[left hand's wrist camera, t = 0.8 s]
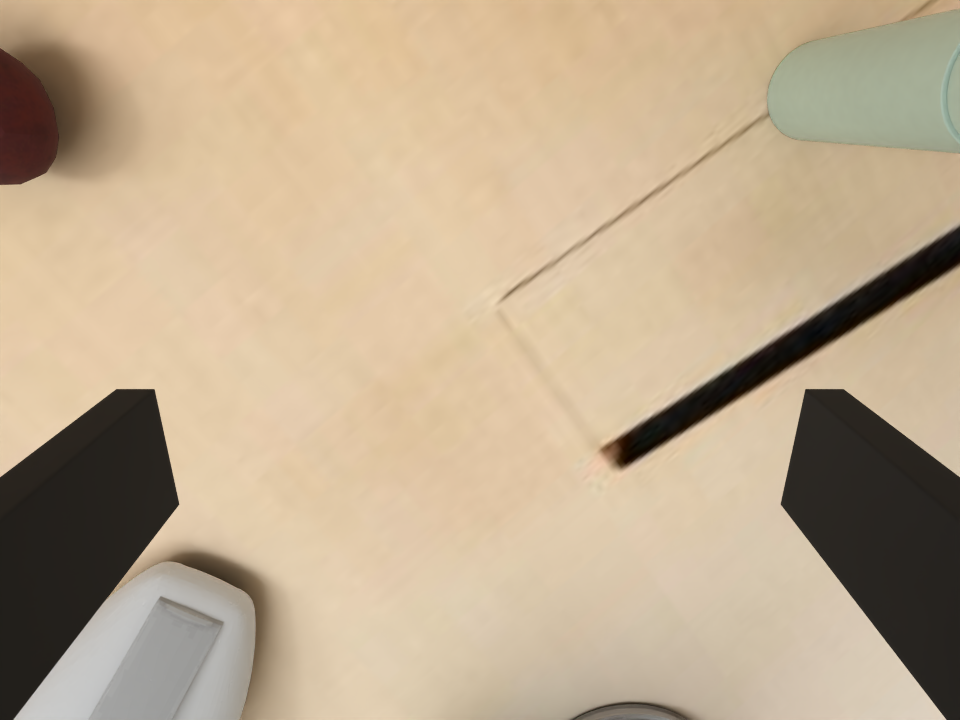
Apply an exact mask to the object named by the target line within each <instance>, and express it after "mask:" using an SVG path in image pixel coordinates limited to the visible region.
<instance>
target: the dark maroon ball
mask: <svg viewBox="0 0 960 720" xmlns="http://www.w3.org/2000/svg"><path fill="white" fill-rule="evenodd" d="M58 139H59V134H58V129H57V124H56V118H55V113H54V108H53V106H52V104H51V102H50V100H49V98H48V96H47V94H46V92H45V90H44V88H43V86H42V84H41V82H40V80H39V79H38V78H37V77H36V76H35V75H34V74H33V73H32V72H31V71H30V70H29V69H28V68H27V67H26V66H25V65H24V64H23V63H21V62H20V61H18V60H17V59H15V58H14V57H12V56H11V55H9V54H8V53H6V52H5V51H3V50H2V49H0V185H11V184H22V183H25V182H27V181H29V180H31V179H34V178H36V177H38V176H40V175H42V174H44V173H46V172H47V170H48V169H49V167H50V166H51V164H52V163H53V161H54V159H55V158H56V153H57V146H58Z"/></svg>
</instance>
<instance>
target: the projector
mask: <svg viewBox="0 0 960 720" xmlns="http://www.w3.org/2000/svg"><path fill="white" fill-rule="evenodd" d="M255 634H256V619H255V608H254V604H253V601H252V599H251V598H250V596H249V595H248V594H247V593H245V592H244V591H242V590H241V589H239V588H236V587H234V586H232V585H230V584H229V583H227V582H225V581H223V580H221V579H218V578H216V577H214V576H212V575H209V574H207V573H205V572H202V571H199V570H197V569H194V568H191V567H188V566H185V565H183V564H181V563H177V562H169V561H168V562H161V563H158V564H156V565H154V566H152V567H150V568H148V569H147V570H145V571H144V572H142V573H140V574H139V575H137V576H136V577H135V578H133V579H132V580H130V581H129V582H128V583H126V584H125V585H124V586H123V587H121V588H120V589H119V590H117V591H116V592H115V593H113V594H112V595H111V596H110V597H109V598H108V599H107V600H105V601H104V603H103V604H102V605H101V607H100V608H99V609H98V611H97V612H96V613H95V614H94V616H93V617H92V618H91V620H90V621H89V622H88V624H87V625H86V626H85V627H84V629H83V630H82V631H81V633H80V634H79V635H78V637H77V638H76V639H75V640H74V642H73V643H72V644H71V646H70V647H69V648H68V649H67V651H66V652H65V653H64V655H63V656H62V657H61V659H60V660H59V661H58V662H57V664H56V665H55V666H54V668H53V669H52V670H51V672H50V673H49V674H48V675H47V677H46V678H45V679H44V681H43V682H42V683H41V685H40V686H39V687H38V688H37V690H36V691H35V692H34V694H33V695H32V696H31V698H30V699H29V700H28V701H27V703H26V704H25V705H24V707H23V708H22V709H21V711H20V712H19V713H18V714H17V716H16V717H15V718H14V720H240V718H241V714H242V711H243V708H244V705H245V701H246V697H247V693H248V688H249V684H250V679H251V673H252V667H253V659H254V650H255Z"/></svg>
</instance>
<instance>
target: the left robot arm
mask: <svg viewBox="0 0 960 720" xmlns="http://www.w3.org/2000/svg"><path fill="white" fill-rule="evenodd" d="M178 505H179V501H178V496H177V492H176V487H175V482H174V478H173V473H172V468H171V464H170V459H169V454H168V450H167V445H166V441H165V436H164V431H163V427H162V422H161V417H160V413H159V408H158V403H157V399H156V394H155V389H116V390H115V391H114V392H112V393H111V394H110V395H108V396H107V397H106V398H104V399H103V400H102V401H100V402H99V403H98V404H96V405H95V406H94V407H92V408H91V409H90V410H88V411H87V412H86V413H84V414H83V415H82V416H81V417H79V418H78V419H77V420H75V421H74V422H73V423H71V424H70V425H69V426H67V427H66V428H65V429H63V430H62V431H61V432H59V433H58V434H57V435H55V436H54V437H53V438H52V439H50V440H49V441H48V442H46V443H45V444H44V445H42V446H41V447H40V448H38V449H37V450H36V451H34V452H33V453H32V454H30V455H29V456H28V457H26V458H25V459H24V460H22V461H21V462H20V463H19V464H17V465H16V466H15V467H13V468H12V469H11V470H9V471H8V472H7V473H5V474H4V475H3V476H1V477H0V720H14V718H15V717H16V716H17V714H18V713H19V712H20V711H21V709H22V708H23V707H24V705H25V704H26V703H27V701H28V700H29V699H30V698H31V696H32V695H33V694H34V692H35V691H36V690H37V688H38V687H39V686H40V685H41V683H42V682H43V681H44V679H45V678H46V677H47V675H48V674H49V673H50V672H51V670H52V669H53V668H54V666H55V665H56V664H57V662H58V661H59V660H60V659H61V657H62V656H63V655H64V653H65V652H66V651H67V649H68V648H69V647H70V646H71V644H72V643H73V642H74V640H75V639H76V638H77V637H78V635H79V634H80V633H81V631H82V630H83V629H84V627H85V626H86V625H87V624H88V622H89V621H90V620H91V618H92V617H93V616H94V614H95V613H96V612H97V611H98V609H99V608H100V607H101V605H102V604H103V603H104V601H105V600H106V599H107V598H108V596H109V595H110V594H111V592H112V591H113V590H114V588H115V587H116V586H117V585H118V583H119V582H120V581H121V579H122V578H123V577H124V575H125V574H126V573H127V572H128V570H129V569H130V568H131V566H132V565H133V564H134V562H135V561H136V560H137V559H138V557H139V556H140V555H141V553H142V552H143V551H144V549H145V548H146V547H147V546H148V544H149V543H150V542H151V540H152V539H153V538H154V537H155V535H156V534H157V533H158V531H159V530H160V529H161V527H162V526H163V525H164V524H165V522H166V521H167V520H168V518H169V517H170V516H171V514H172V513H173V512H174V511H175V509H176V508H177V507H178ZM781 505H782V507H783V508H784V509H785V511H786V512H787V513H788V514H789V516H790V517H791V518H792V520H793V521H794V522H795V524H796V525H797V526H798V527H799V529H800V530H801V531H802V533H803V534H804V535H805V537H806V538H807V539H808V540H809V542H810V543H811V544H812V546H813V547H814V548H815V549H816V551H817V552H818V553H819V555H820V556H821V557H822V559H823V560H824V561H825V562H826V564H827V565H828V566H829V568H830V569H831V570H832V572H833V573H834V574H835V575H836V577H837V578H838V579H839V581H840V582H841V583H842V585H843V586H844V587H845V588H846V590H847V591H848V592H849V594H850V595H851V596H852V598H853V599H854V600H855V601H856V603H857V604H858V605H859V607H860V608H861V609H862V611H863V612H864V613H865V614H866V616H867V617H868V618H869V620H870V621H871V622H872V624H873V625H874V626H875V627H876V629H877V630H878V631H879V633H880V634H881V635H882V637H883V638H884V639H885V640H886V642H887V643H888V644H889V646H890V647H891V648H892V649H893V651H894V652H895V653H896V655H897V656H898V657H899V659H900V660H901V661H902V662H903V664H904V665H905V666H906V668H907V669H908V670H909V672H910V673H911V674H912V675H913V677H914V678H915V679H916V681H917V682H918V683H919V685H920V686H921V687H922V688H923V690H924V691H925V692H926V694H927V695H928V696H929V698H930V699H931V700H932V701H933V703H934V704H935V705H936V707H937V708H938V709H939V711H940V712H941V713H942V714H943V716H944V717H945V718H946V720H960V477H959V476H957V475H956V474H955V473H953V472H952V471H951V470H949V469H948V468H947V467H945V466H944V465H943V464H941V463H940V462H939V461H938V460H936V459H935V458H934V457H932V456H931V455H930V454H928V453H927V452H926V451H924V450H923V449H922V448H920V447H919V446H918V445H916V444H915V443H914V442H912V441H911V440H910V439H908V438H907V437H906V436H905V435H903V434H902V433H901V432H899V431H898V430H897V429H895V428H894V427H893V426H891V425H890V424H889V423H887V422H886V421H885V420H883V419H882V418H881V417H879V416H878V415H877V414H876V413H874V412H873V411H872V410H870V409H869V408H868V407H866V406H865V405H864V404H862V403H861V402H860V401H858V400H857V399H856V398H854V397H853V396H852V395H850V394H849V393H848V392H846V391H845V390H844V389H805V394H804V399H803V403H802V408H801V413H800V417H799V422H798V427H797V431H796V436H795V441H794V445H793V450H792V454H791V459H790V464H789V468H788V473H787V478H786V482H785V487H784V492H783V496H782V501H781ZM574 720H687V719H686V718H684V717H682V716H680V715H679V714H677V713H674V712H672V711H669V710H667V709H663V708H660V707H655V706H650V705H642V704H623V705H614V706H609V707H604V708H600V709H597V710H594V711H591V712H588V713H586V714H583V715H581V716H579V717H577V718H575V719H574Z"/></svg>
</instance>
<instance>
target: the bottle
mask: <svg viewBox="0 0 960 720" xmlns="http://www.w3.org/2000/svg"><path fill="white" fill-rule="evenodd" d="M767 104H768V111H769V115H770V117H771V120H772V121H773V123H774V125H775V126H776V127H777V129H778V130H779V131H781V132H782V133H783V134H785V135H786V136H788V137H790V138H793V139H796V140H804V141H816V142H828V143H840V144H853V145H865V146H877V147H889V148H901V149H913V150H925V151H937V152H950V153H960V9H956V10H951V11H947V12H942V13H937V14H933V15H928V16H924V17H919V18H915V19H910V20H906V21H901V22H896V23H892V24H887V25H883V26H878V27H874V28H869V29H864V30H860V31H855V32H851V33H846V34H842V35H837V36H833V37H828V38H823V39H819V40H814V41H811V42H807V43H805V44H803V45H801V46H799V47H797V48H796V49H794V50H793V51H792V52H790V53H789V54H788V55H787V56H786V57H785V58H784V59H783V60H782V62H781V63H780V64H779V66H778V67H777V69H776V70H775V72H774V74H773V76H772V79H771V81H770V85H769V88H768V94H767Z"/></svg>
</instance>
